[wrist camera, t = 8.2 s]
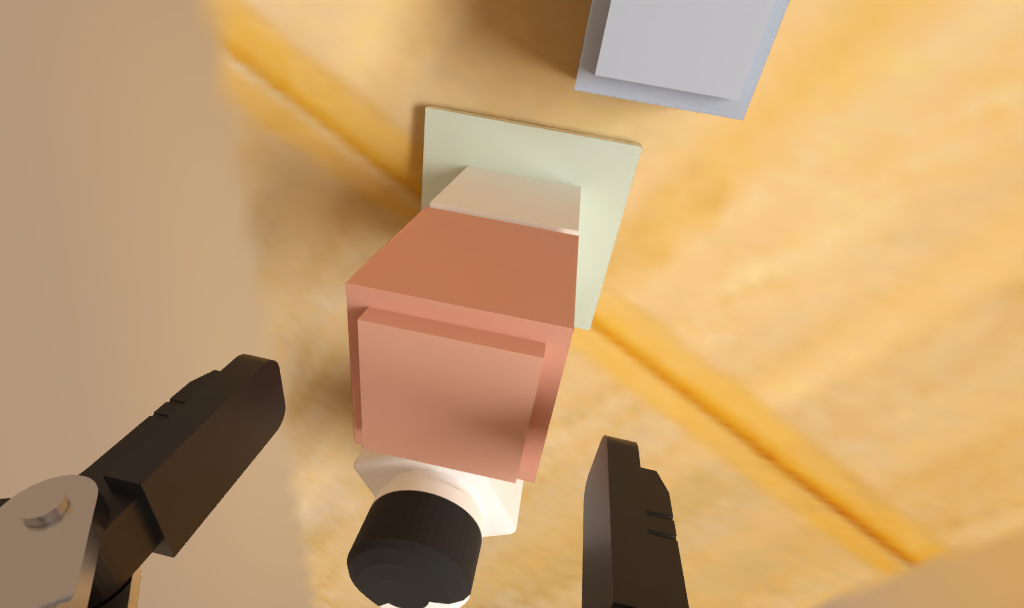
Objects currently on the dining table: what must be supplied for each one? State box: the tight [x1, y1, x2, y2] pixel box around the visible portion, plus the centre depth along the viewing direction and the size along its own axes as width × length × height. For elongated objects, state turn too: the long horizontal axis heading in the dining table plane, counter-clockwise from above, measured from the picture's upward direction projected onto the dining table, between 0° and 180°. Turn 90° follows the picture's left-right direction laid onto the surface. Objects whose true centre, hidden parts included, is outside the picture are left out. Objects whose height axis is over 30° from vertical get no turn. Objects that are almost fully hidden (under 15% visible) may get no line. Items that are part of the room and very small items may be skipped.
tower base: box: [421, 106, 642, 330], centre depth 20 cm, size 10×10×7 cm
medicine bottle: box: [347, 448, 523, 608], centre depth 25 cm, size 7×7×12 cm
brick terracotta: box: [346, 207, 579, 483], centre depth 14 cm, size 6×6×7 cm
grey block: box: [574, 0, 790, 120], centre depth 15 cm, size 6×6×7 cm
